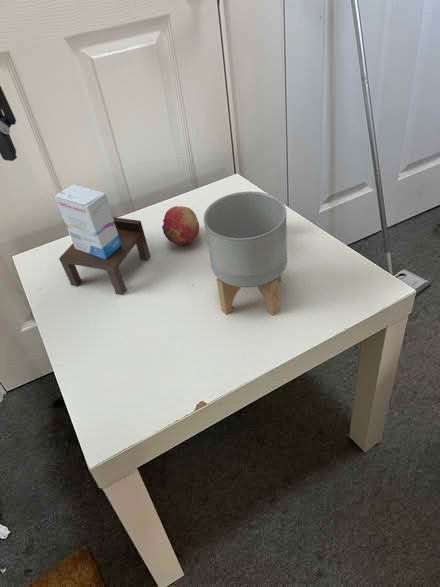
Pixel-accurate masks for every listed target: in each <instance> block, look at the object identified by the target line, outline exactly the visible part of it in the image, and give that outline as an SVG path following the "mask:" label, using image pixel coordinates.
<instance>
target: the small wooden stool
mask: <svg viewBox="0 0 440 587" xmlns="http://www.w3.org/2000/svg"><path fill="white" fill-rule="evenodd" d="M113 220H114V223H115V226H116V229H117V232H118V235H119V239H120V242H121V245H122V246H121V247H120V248H119V249H117V250H116V251H115V252H114V253H113V254H112V255H111V256H110V257H108V258H107V259H102V258H100V257H97V256H94V255H91V254H89V253H86V252H83V251H80V250H78V249H75V247H74V244H73V243H71V244H70V245H69V247H68V248H67V249H66V250H65V251H64V252H63V253H62V254H61V255H60V257H59V258H58V260H59V262H60V264H61V266H62V268H63V270H64V273H65V275H66V277H67V279H68V281H69V284H70V285H71V286H74V287H79V286H80V284H81V283H82V278H81V276H80V274H79V271H78V269H77V267H76V266H79V267H85V268H91V269H95V270H102V271H107V274H108V277H109V279H110V281H111V285H112V287H113V289H114V292H115V295H120V296H124V294H125V293H126V292H127V290H128V289H127V286H126V284H125V283H126V282H125V280H124V277H123V274H122V272H121V269H120V265H121V264H122V262H123V261H124V260H125V259H126V258H127V256H128V255H129V253H130V252H131V251H132V250H133V249H134V247H135V246H136V249H137V252H138V256H139V259H140V261H144V262H145V261H146V262H148V261H149V260H150V258H151V253H150V250H149V249H150V248H149V245H148V242H147V238H146V235H145V231H144V228H143V224H142V221H141V220H138V219H131V218H123V217H114V216H113Z"/></svg>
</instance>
